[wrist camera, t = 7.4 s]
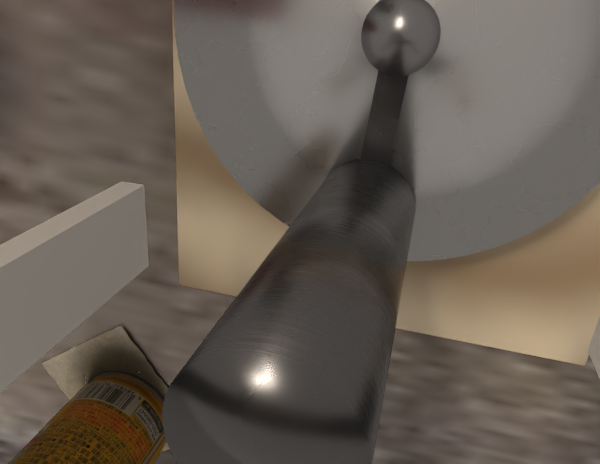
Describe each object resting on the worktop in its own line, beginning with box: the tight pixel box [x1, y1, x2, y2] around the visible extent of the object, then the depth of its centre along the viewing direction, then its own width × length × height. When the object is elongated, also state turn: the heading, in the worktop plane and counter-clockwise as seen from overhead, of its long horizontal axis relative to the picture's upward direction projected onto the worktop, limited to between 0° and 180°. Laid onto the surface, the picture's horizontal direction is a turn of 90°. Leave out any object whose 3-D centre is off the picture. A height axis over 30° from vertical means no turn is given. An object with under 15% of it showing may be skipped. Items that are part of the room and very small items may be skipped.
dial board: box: [172, 0, 600, 366], centre depth 19 cm, size 24×18×2 cm
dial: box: [162, 0, 600, 464], centre depth 12 cm, size 16×16×14 cm
